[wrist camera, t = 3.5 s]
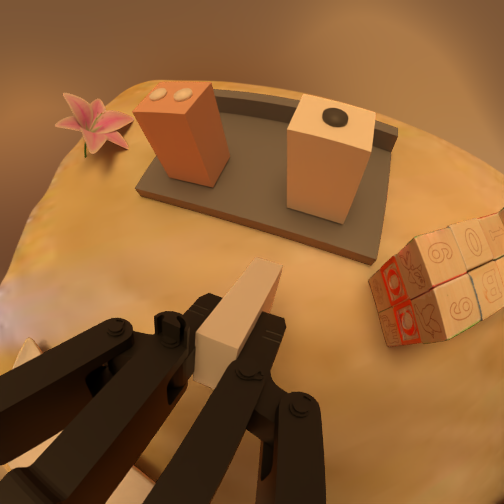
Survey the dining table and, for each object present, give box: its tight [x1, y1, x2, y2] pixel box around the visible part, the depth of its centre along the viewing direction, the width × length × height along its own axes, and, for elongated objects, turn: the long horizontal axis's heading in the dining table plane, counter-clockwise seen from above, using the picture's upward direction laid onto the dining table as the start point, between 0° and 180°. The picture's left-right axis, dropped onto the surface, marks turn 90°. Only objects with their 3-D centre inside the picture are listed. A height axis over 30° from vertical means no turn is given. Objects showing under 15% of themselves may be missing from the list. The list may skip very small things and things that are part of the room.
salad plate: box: [8, 337, 156, 504], centre depth 15 cm, size 21×21×3 cm
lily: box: [55, 93, 134, 158], centre depth 28 cm, size 12×12×10 cm
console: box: [135, 89, 398, 265], centre depth 25 cm, size 24×14×4 cm, turn 69°
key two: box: [132, 82, 230, 188], centre depth 21 cm, size 5×4×9 cm
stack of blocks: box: [369, 208, 504, 347], centre depth 14 cm, size 21×6×12 cm, turn 101°
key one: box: [287, 94, 376, 224], centre depth 19 cm, size 5×4×9 cm
